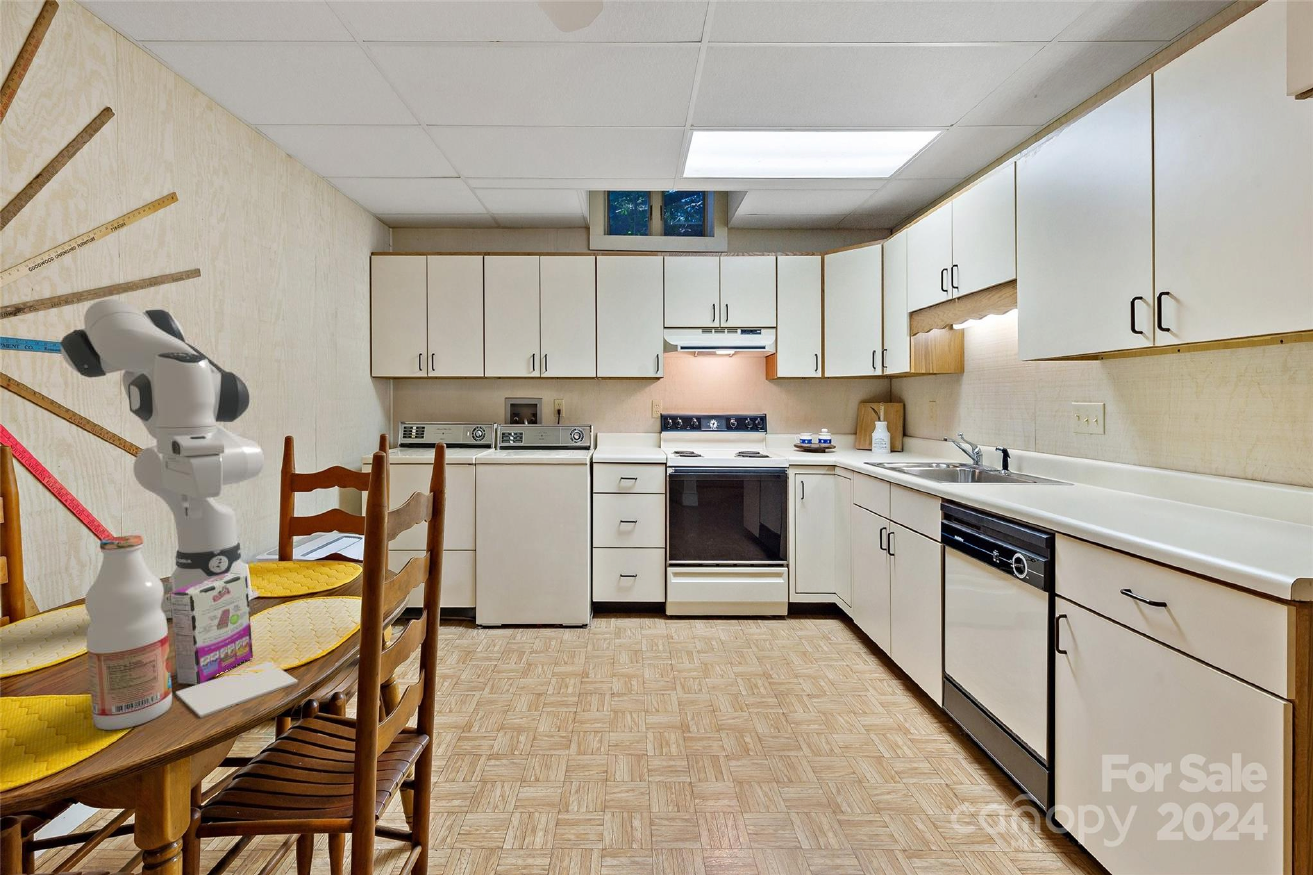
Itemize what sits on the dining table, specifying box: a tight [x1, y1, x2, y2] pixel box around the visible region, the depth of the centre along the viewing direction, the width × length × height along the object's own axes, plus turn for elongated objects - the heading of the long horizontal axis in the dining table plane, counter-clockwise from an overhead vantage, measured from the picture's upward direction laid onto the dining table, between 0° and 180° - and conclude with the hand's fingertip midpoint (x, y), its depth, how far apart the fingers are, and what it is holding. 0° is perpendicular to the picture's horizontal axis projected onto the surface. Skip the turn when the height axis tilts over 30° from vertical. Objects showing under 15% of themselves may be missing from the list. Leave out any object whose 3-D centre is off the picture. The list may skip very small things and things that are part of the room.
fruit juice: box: [84, 534, 173, 731], centre depth 93 cm, size 9×9×28 cm
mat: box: [175, 661, 299, 719], centre depth 103 cm, size 12×14×1 cm
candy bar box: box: [169, 573, 254, 686], centre depth 108 cm, size 11×5×16 cm, turn 168°
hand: (192, 517), depth 111 cm, fingers closed
